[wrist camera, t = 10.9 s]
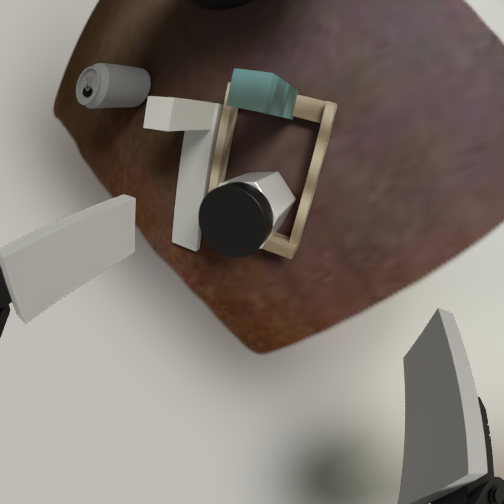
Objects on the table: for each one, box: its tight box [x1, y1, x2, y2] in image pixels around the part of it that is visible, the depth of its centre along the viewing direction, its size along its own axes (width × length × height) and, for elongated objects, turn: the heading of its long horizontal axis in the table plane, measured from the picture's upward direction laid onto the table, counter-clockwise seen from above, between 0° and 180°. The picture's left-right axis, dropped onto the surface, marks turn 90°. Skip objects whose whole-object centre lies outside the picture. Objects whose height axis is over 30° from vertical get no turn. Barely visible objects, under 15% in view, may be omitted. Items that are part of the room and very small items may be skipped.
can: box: [76, 63, 151, 108], centre depth 34 cm, size 8×8×12 cm
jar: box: [198, 172, 295, 257], centre depth 34 cm, size 9×8×12 cm
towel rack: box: [198, 68, 337, 259], centre depth 32 cm, size 22×14×12 cm
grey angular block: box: [143, 96, 223, 251], centre depth 37 cm, size 24×5×11 cm, turn 168°
